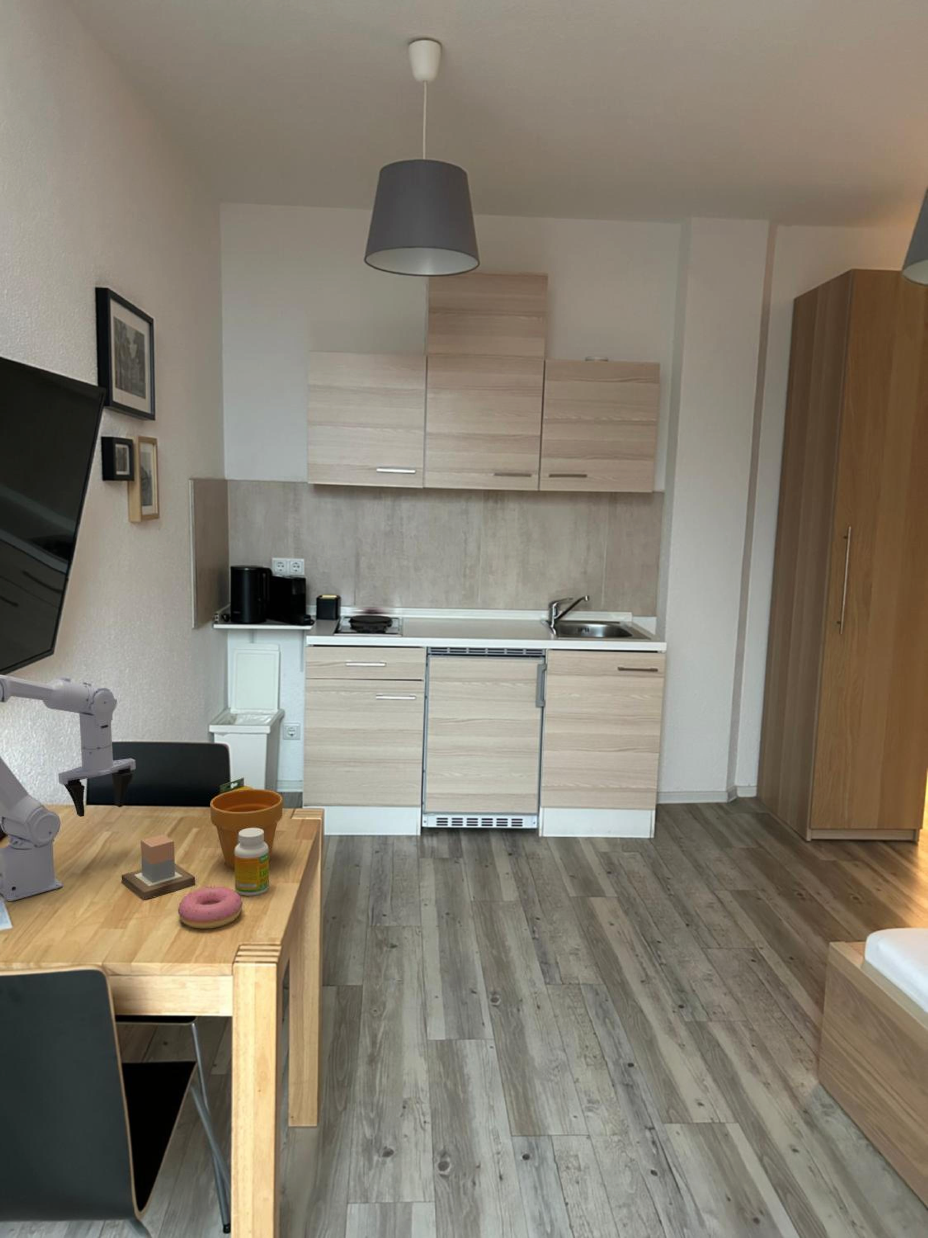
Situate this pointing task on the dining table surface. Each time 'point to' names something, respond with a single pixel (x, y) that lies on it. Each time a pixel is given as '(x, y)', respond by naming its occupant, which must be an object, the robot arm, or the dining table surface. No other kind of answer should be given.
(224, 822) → the flower pot
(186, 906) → the doughnut
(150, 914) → the dining table surface
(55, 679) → the robot arm
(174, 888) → the walnut board
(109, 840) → the dining table surface
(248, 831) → the supplement bottle
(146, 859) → the block stack
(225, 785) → the crayon box
